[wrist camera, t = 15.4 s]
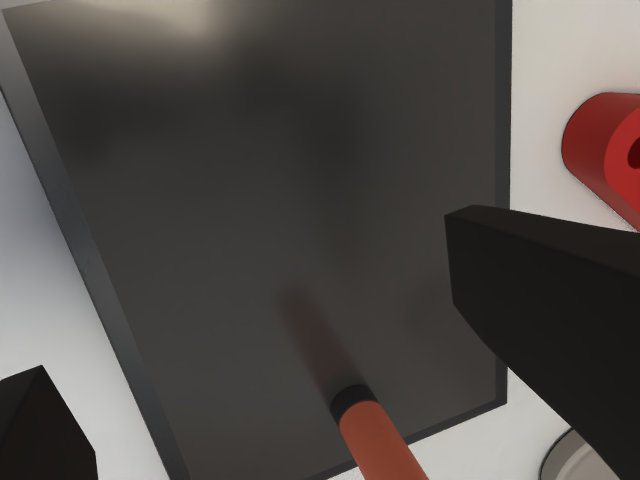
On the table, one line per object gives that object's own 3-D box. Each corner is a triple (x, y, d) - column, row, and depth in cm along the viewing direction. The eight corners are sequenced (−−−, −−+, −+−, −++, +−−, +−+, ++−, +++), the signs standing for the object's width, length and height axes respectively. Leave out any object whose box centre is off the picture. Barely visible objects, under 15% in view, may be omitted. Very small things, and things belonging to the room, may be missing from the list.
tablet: (191, 522, 24) (194, 538, 23) (-42, -20, 14) (-50, -20, 13) (499, 395, 28) (509, 405, 27) (500, -110, 17) (517, -114, 16)
